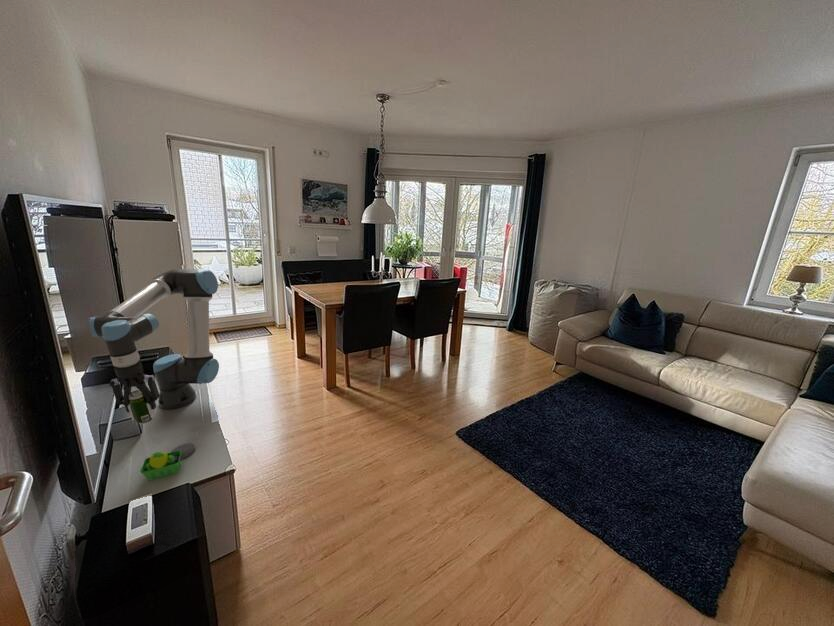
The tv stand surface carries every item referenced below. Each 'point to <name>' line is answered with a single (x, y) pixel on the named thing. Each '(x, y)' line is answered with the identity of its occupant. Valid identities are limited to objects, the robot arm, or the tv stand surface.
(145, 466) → the fruit basket
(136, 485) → the tv stand surface
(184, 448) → the coaster
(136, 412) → the beer can
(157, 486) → the tv stand surface
